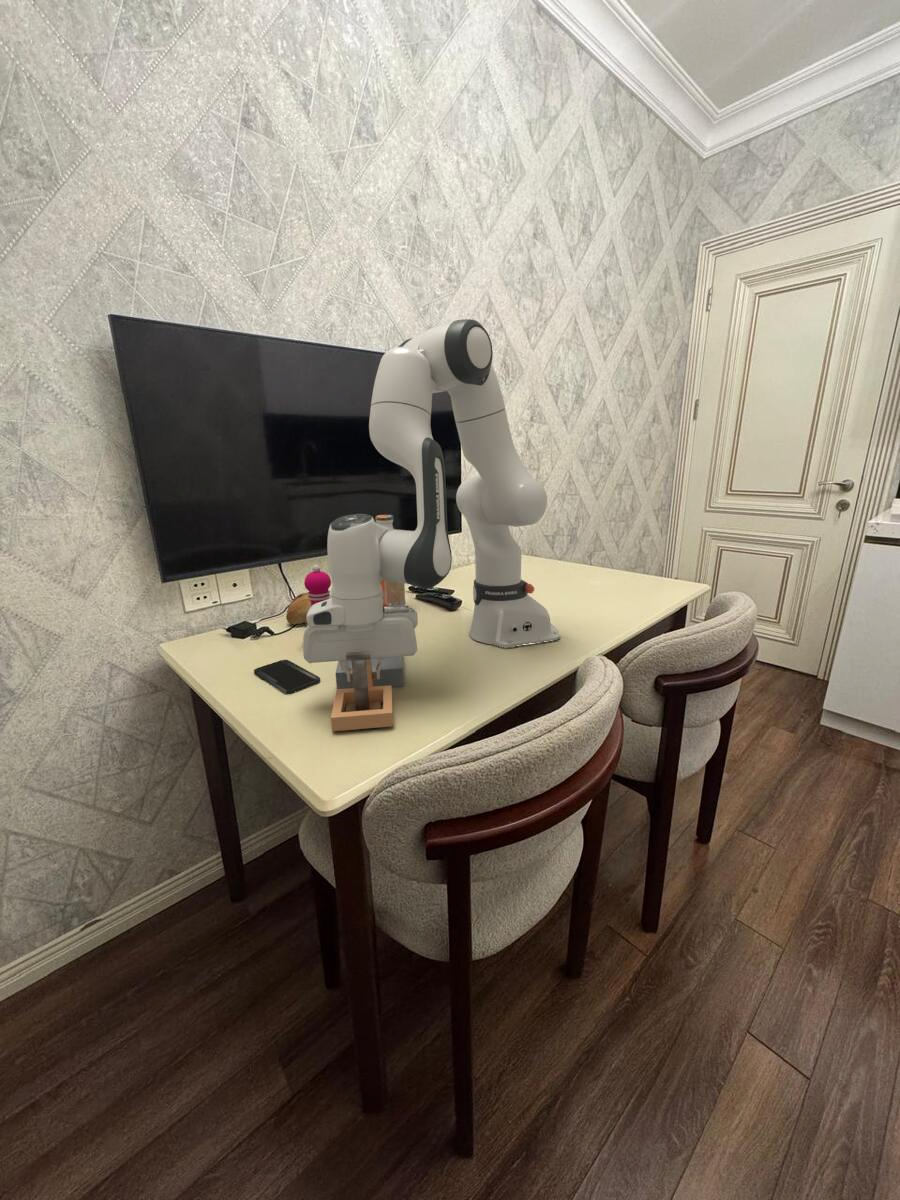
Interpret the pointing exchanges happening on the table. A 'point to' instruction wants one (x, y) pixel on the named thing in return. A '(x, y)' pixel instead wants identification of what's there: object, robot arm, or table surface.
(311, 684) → the phone
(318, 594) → the pepper mill
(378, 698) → the ring
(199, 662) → the table surface
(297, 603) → the bread roll
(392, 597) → the fruit juice
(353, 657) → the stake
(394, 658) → the tray
